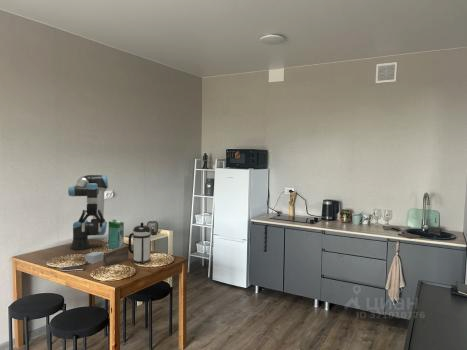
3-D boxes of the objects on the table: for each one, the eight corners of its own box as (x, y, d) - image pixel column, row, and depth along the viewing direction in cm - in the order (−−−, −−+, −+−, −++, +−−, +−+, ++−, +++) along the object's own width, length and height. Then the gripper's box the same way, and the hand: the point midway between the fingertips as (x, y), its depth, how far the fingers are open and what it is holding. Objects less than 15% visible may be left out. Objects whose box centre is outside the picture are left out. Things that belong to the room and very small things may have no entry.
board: (103, 266, 254) (103, 252, 253) (124, 258, 274) (124, 245, 273) (107, 266, 252) (107, 253, 251) (128, 258, 272) (128, 246, 271)
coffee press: (151, 257, 276) (151, 220, 274) (152, 264, 261) (152, 224, 259) (128, 258, 272) (128, 220, 270) (127, 265, 256) (128, 224, 255)
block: (84, 262, 261) (84, 254, 260) (95, 259, 270) (95, 251, 270) (93, 264, 258) (93, 256, 257) (103, 260, 267) (103, 252, 266)
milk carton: (118, 251, 291) (118, 221, 289) (108, 250, 293) (108, 221, 291) (123, 248, 300) (123, 219, 298) (114, 248, 302) (114, 219, 300)
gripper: (74, 203, 265) (73, 232, 264) (104, 203, 262) (104, 231, 260) (79, 203, 273) (79, 231, 271) (109, 203, 269) (109, 231, 268)
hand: (91, 231), depth 266 cm, fingers open, 13 cm apart
